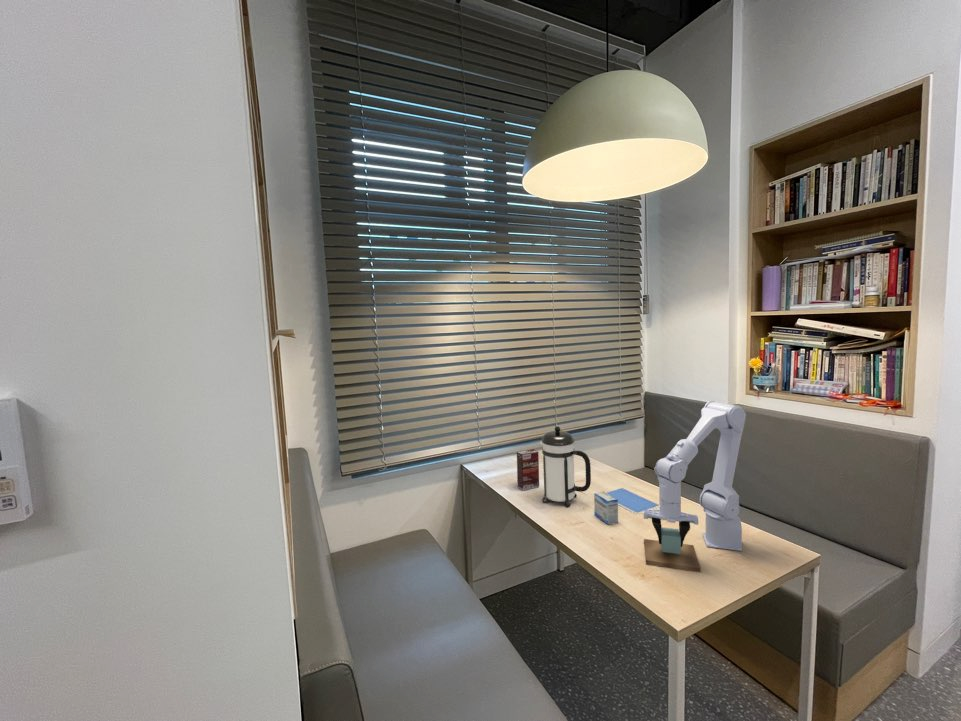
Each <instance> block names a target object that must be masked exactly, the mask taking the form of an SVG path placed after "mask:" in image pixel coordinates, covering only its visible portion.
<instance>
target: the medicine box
mask: <svg viewBox="0 0 961 721" xmlns="http://www.w3.org/2000/svg"><path fill="white" fill-rule="evenodd" d="M593 497H594V498H593V499H594V502H593V503H594V504H593V505H594V507H593V508H594V512H593V513H594V514H593V515H594V516H595V517H596V518H597V517H598V518H597V519H599V520H600V519H601V520H600V521H602V522H603V521H604V522H603V523H605V524H606V523H607V525H614V524H618V523H619V505H618V499H616V498H614V497H613V496H611V495H609V494H608V493H607V492H605V490H602V491H598V492H594V496H593ZM613 523H614V524H613Z"/></svg>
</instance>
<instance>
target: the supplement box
mask: <svg viewBox="0 0 961 721" xmlns="http://www.w3.org/2000/svg"><path fill="white" fill-rule="evenodd" d="M539 458H540V457H539V451H538V450H535V449H527V450H523V451H517V452H516V469H517V470H516V474H517V475H516V476H517V478H516V479H517V488H518V489H520V490H521V491H522V492H523V491H527V490H532V489H536V488H540V471H539V470H540V468H539V466H540V461H539Z"/></svg>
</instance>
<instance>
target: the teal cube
mask: <svg viewBox="0 0 961 721" xmlns="http://www.w3.org/2000/svg"><path fill="white" fill-rule="evenodd" d="M661 537H662V544H661V549H662V552H668V553H676V554H681V537H680V533H679V528H672V527H671V528H669V527H662V526H661Z"/></svg>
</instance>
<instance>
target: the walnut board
mask: <svg viewBox="0 0 961 721" xmlns="http://www.w3.org/2000/svg"><path fill="white" fill-rule="evenodd" d="M643 544H644V545H643V546H644V557H645V564H646V565H648V566H649V565H650V566H656V565H657V566H656V567H663V568H671V569H677V570H685V571H691V572H692V571H693V572H696V573H701V566H700V562H699V559H698V556H697V553H696V550H695V546H694V544H688V543H683V546H682V547H681V554H676V553H668V552H662V549H661V544H659V540H657V539H647V538H644V539H643Z"/></svg>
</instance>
